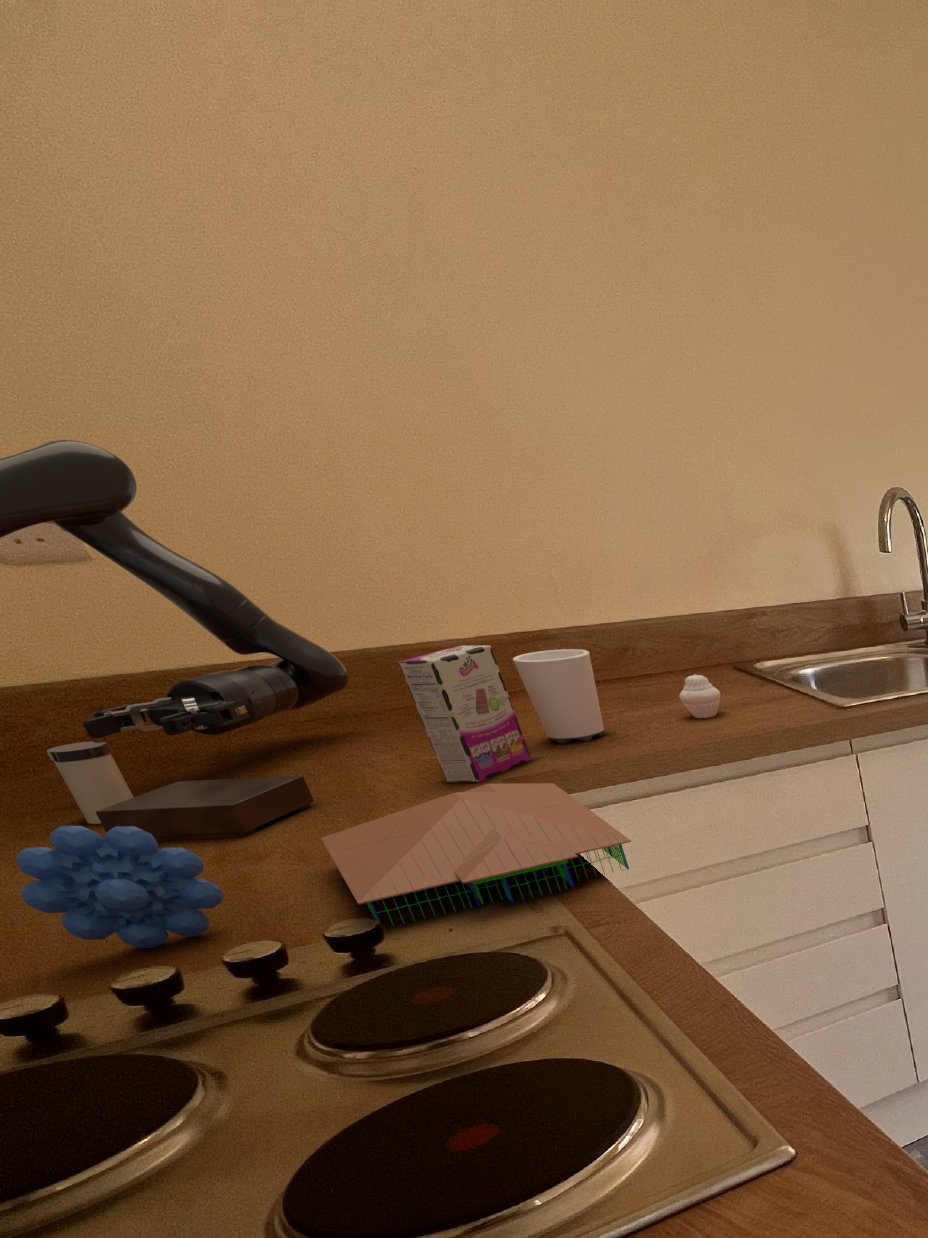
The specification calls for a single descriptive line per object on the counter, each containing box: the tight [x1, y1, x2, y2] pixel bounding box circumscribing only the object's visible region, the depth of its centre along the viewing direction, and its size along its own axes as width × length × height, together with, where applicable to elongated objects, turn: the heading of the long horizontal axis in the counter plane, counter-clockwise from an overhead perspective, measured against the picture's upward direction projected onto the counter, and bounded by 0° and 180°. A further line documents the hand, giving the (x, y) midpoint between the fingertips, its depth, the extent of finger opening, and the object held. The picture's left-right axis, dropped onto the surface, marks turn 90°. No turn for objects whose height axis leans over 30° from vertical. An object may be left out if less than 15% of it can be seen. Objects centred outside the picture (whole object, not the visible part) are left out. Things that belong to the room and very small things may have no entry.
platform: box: [96, 775, 315, 842], centre depth 125 cm, size 14×12×4 cm
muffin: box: [678, 673, 721, 719], centre depth 173 cm, size 6×6×7 cm
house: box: [320, 782, 632, 927], centre depth 111 cm, size 23×33×8 cm
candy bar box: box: [397, 644, 532, 783], centre depth 142 cm, size 11×5×16 cm, turn 179°
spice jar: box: [46, 740, 134, 825], centre depth 126 cm, size 5×5×9 cm
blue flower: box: [15, 825, 224, 949], centre depth 91 cm, size 12×7×12 cm, turn 134°
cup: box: [512, 648, 605, 744], centre depth 159 cm, size 10×10×13 cm
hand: (127, 728), depth 131 cm, fingers open, 8 cm apart
